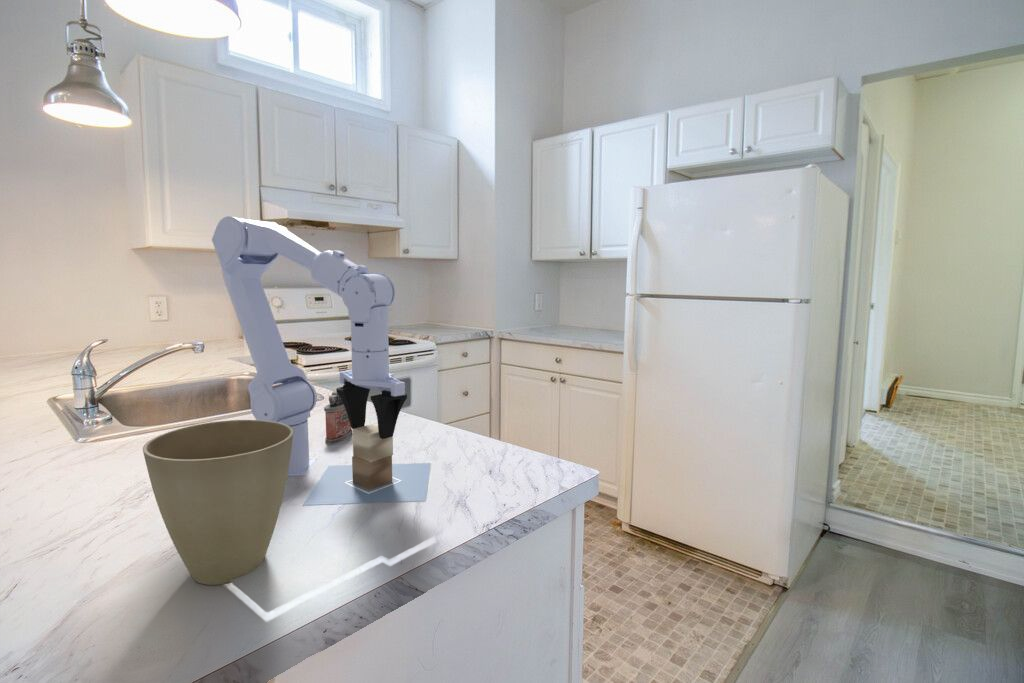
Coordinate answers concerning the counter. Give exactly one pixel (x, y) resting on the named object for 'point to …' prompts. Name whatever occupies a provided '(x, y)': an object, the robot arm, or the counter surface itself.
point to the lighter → (336, 420)
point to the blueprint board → (342, 490)
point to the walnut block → (372, 472)
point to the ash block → (371, 443)
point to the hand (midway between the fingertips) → (371, 432)
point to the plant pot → (220, 492)
